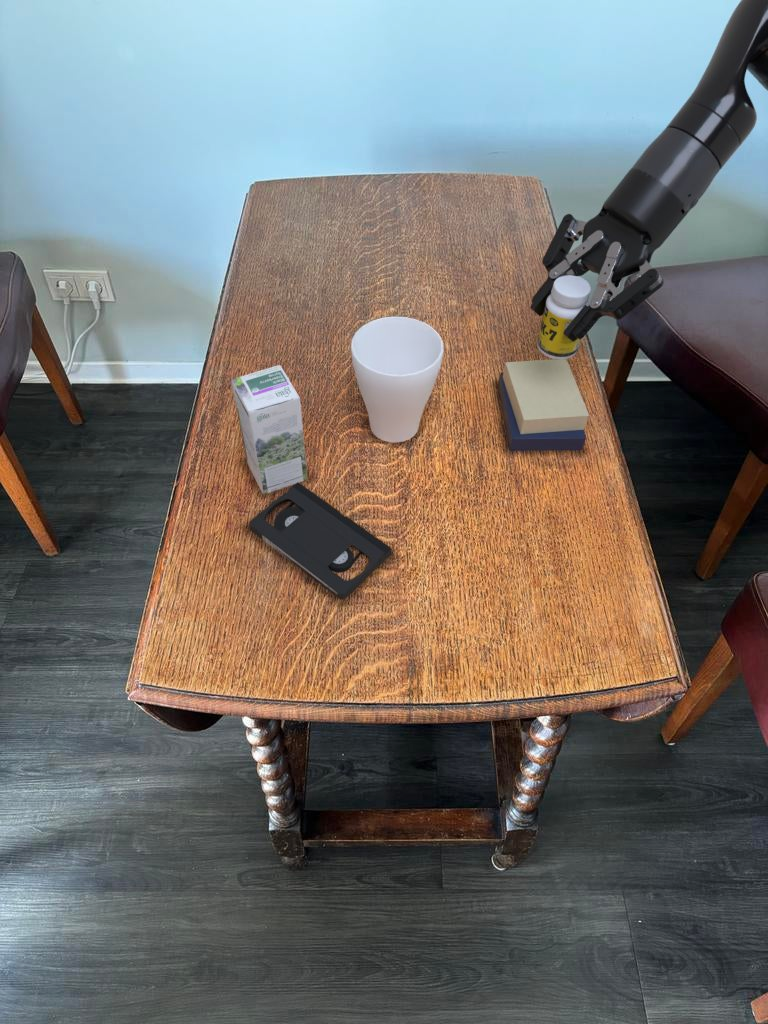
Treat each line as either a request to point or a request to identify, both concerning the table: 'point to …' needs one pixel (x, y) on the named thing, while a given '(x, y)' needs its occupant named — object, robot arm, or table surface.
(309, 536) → the vhs tape
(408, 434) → the cup
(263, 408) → the syrup box
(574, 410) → the book stack
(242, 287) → the table surface
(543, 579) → the table surface
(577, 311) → the supplement bottle
